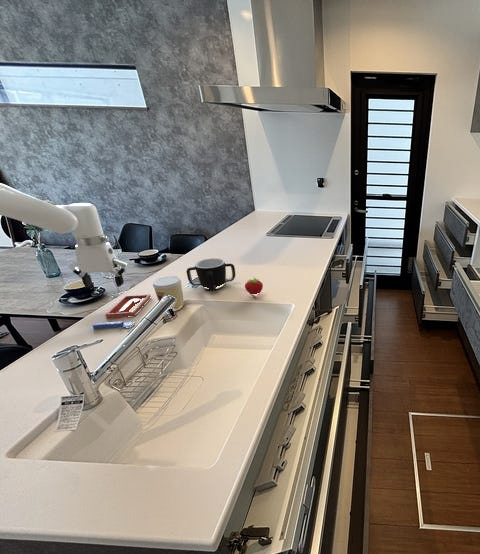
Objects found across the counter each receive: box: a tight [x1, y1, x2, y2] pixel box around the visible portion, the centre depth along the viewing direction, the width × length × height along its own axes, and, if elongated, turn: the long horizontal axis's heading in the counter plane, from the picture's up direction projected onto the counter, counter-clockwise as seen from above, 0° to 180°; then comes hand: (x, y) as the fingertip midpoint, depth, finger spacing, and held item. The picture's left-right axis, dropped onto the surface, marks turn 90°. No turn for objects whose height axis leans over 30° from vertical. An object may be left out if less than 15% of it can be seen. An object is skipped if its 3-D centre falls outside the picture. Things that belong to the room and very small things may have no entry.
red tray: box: [104, 294, 152, 320], centre depth 121 cm, size 9×15×2 cm, turn 13°
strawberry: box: [244, 277, 264, 295], centre depth 133 cm, size 6×8×10 cm
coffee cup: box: [152, 276, 185, 311], centre depth 121 cm, size 9×9×12 cm
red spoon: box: [119, 298, 140, 313], centre depth 120 cm, size 12×4×2 cm, turn 13°
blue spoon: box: [91, 320, 135, 331], centre depth 109 cm, size 12×4×2 cm, turn 103°
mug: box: [186, 258, 236, 291], centre depth 140 cm, size 16×16×12 cm
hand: (105, 285), depth 110 cm, fingers open, 9 cm apart
